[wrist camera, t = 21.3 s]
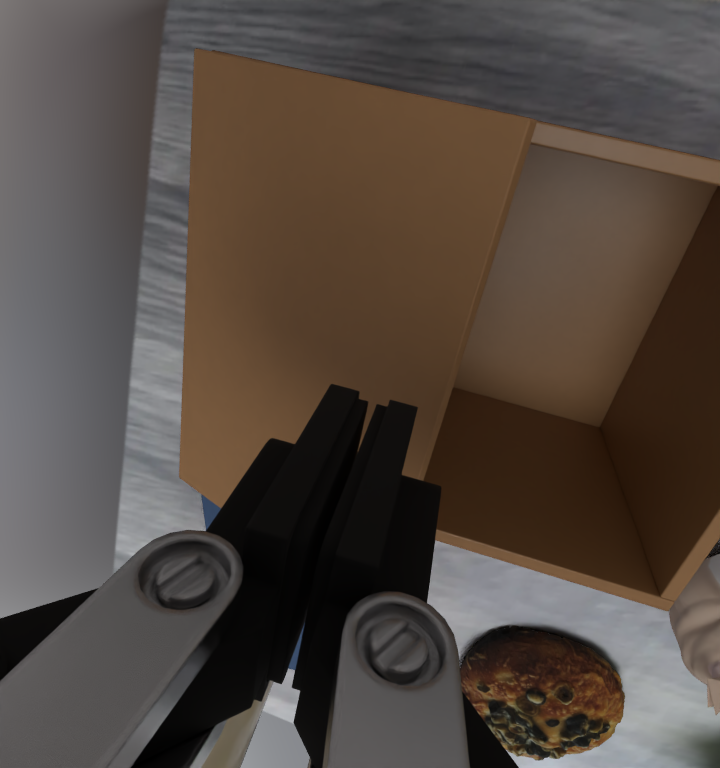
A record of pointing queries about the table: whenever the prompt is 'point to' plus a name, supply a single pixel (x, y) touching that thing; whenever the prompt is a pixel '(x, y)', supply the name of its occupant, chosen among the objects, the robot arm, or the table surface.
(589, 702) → the bread roll
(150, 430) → the table surface
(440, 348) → the flap
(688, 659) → the garlic bulb
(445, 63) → the table surface
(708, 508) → the carton
